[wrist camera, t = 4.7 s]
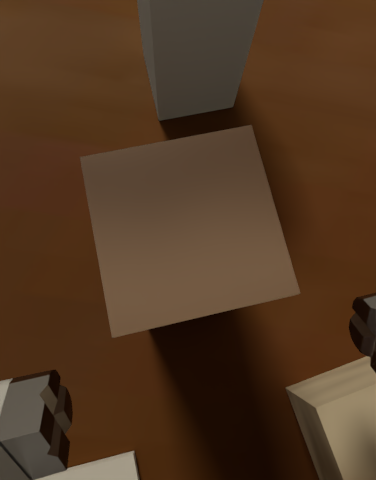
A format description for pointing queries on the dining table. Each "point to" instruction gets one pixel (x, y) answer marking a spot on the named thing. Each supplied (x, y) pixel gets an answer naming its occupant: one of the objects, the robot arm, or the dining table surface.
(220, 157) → the walnut pillar
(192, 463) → the dining table surface
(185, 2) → the grey pillar
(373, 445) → the maple block
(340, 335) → the dining table surface
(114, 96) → the dining table surface
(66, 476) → the swatch
